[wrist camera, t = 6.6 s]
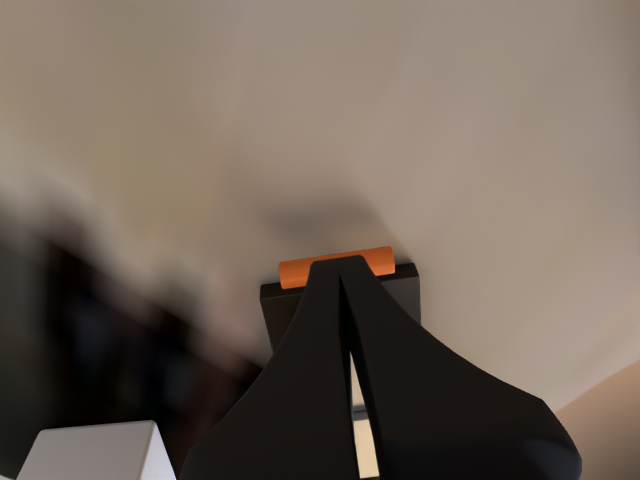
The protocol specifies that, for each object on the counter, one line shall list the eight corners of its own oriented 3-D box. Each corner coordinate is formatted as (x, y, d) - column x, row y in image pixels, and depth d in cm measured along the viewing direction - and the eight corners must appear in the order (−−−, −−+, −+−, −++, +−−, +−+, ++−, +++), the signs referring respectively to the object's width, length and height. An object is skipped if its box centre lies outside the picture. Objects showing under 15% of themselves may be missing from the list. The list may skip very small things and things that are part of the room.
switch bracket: (260, 284, 26) (251, 406, 19) (414, 262, 26) (459, 377, 19) (292, 412, 31) (293, 542, 24) (419, 394, 31) (456, 520, 24)
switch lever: (280, 257, 23) (276, 268, 21) (387, 242, 23) (395, 251, 21) (312, 454, 25) (311, 485, 22) (413, 440, 25) (423, 470, 22)
